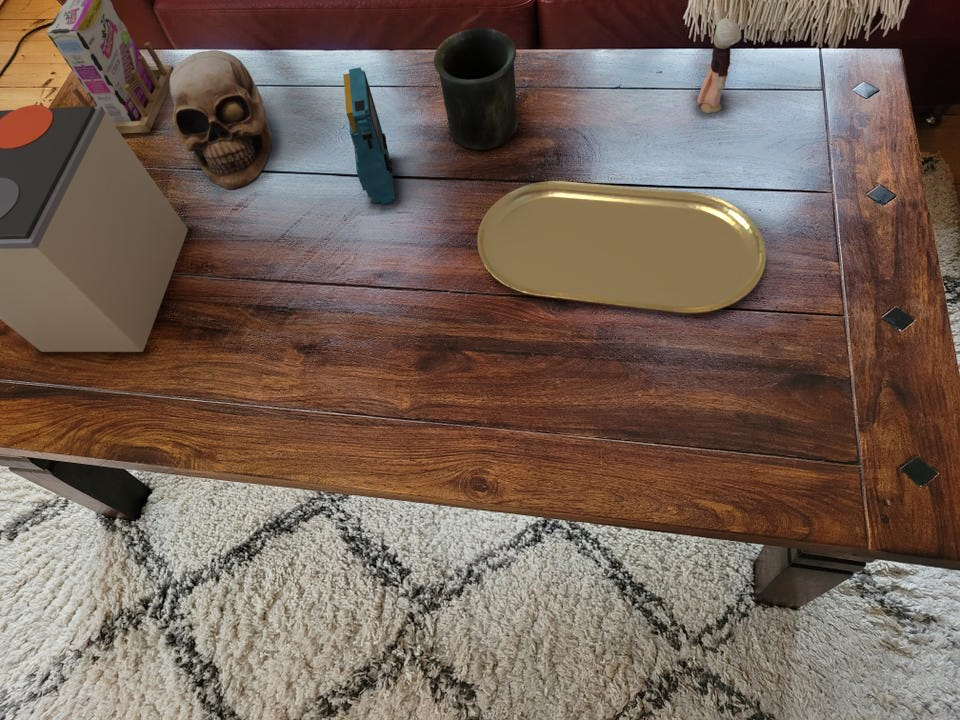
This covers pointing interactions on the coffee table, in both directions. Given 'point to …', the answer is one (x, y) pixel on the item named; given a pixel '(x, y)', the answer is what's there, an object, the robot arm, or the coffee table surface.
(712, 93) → the grandmother figurine
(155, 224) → the stove
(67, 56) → the candy bar box
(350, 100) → the handheld gaming console
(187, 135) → the tan skull
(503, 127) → the mug
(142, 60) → the rack
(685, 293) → the serving platter
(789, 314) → the coffee table surface
